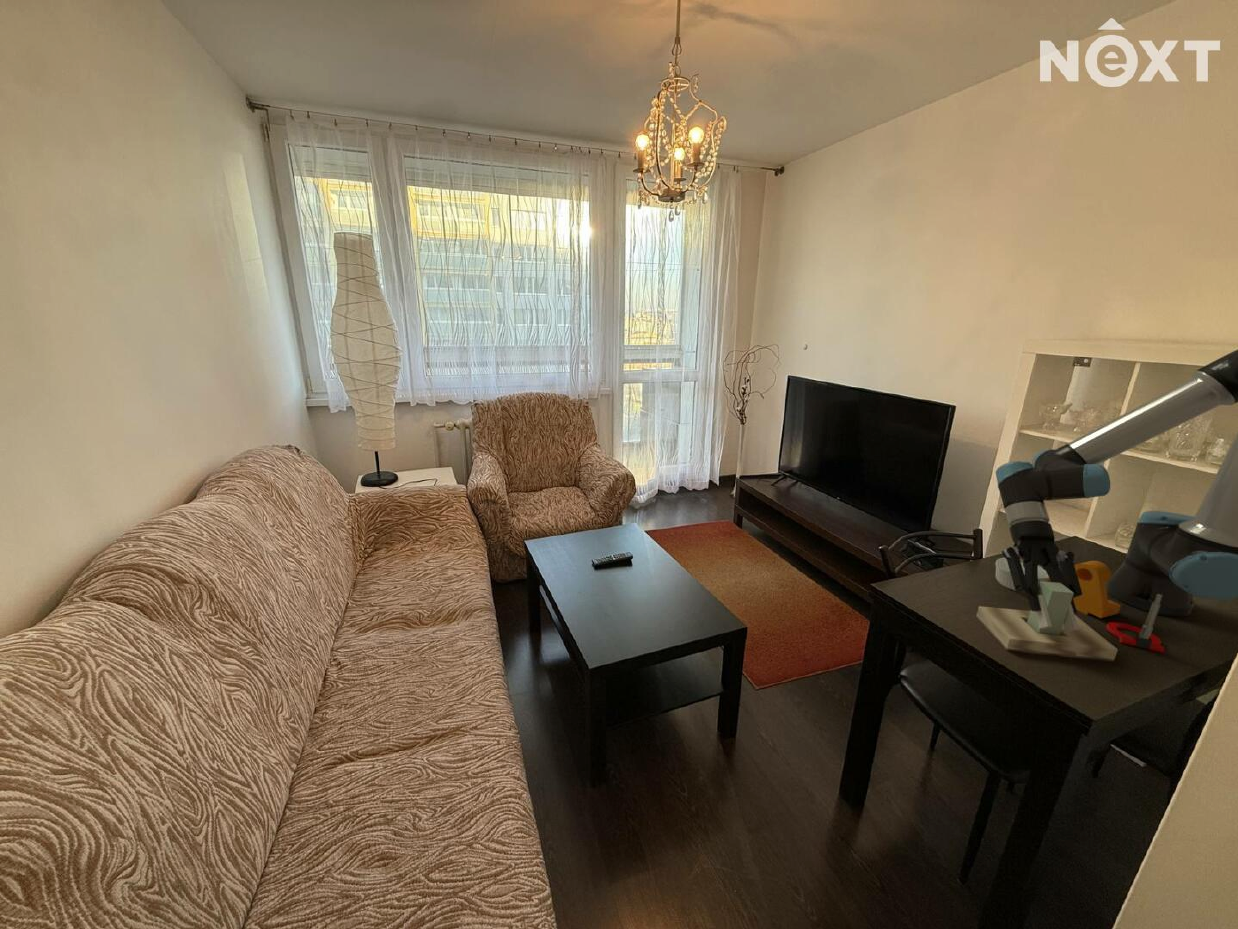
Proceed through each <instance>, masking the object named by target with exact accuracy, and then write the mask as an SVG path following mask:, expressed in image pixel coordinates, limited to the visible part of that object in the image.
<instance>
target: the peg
mask: <svg viewBox="0 0 1238 929" xmlns="http://www.w3.org/2000/svg"><path fill="white" fill-rule="evenodd" d="M1073 594H1074V593H1073V592H1072V591H1071V590H1069V589H1068V588H1067V587H1065V586H1064V585H1063V584H1061V583H1056V582H1051V581H1047V582H1044V581H1040V582H1039V585H1038V594H1037V595H1043V596H1044V600H1045V603H1046V607H1047V611H1048V614H1049V618H1050V621H1051V625H1052V627H1048V628H1044V629H1041V628H1039V625H1038V621H1037V617H1036V614H1035V611H1032V610H1031V609H1030V610H1029V611H1030V615H1029V618H1028V621H1027V624H1028V625H1029V626H1030V627H1031V628H1032V629H1033V630H1034V631H1035V632H1036V633H1037V634H1047V635H1057V636H1060V633H1061V630H1062V627H1063V624H1064V621H1065V618H1066V615H1067V612H1068V609H1069V606H1070V603H1071V600H1072V597H1073Z"/></svg>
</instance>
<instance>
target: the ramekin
mask: <svg viewBox="0 0 1238 929" xmlns="http://www.w3.org/2000/svg"><path fill="white" fill-rule="evenodd" d="M1020 562H1021V565H1022V568H1023V572H1024V575H1025V569H1024V567H1023V559H1021V558H1020ZM995 579H996V581H997V582H998V583H999V584H1000V585H1001V586H1003V587H1005V588H1007V589H1009V590H1011V589H1012V591H1015V587H1014V584H1013V580H1012V577H1011V573H1010V569H1009V566H1008V562H1007V560H1006V558H1005V557H1000V558H997V559H996V561H995ZM1049 580H1050V578H1049V576H1048V574H1047V572H1046V570H1044V569H1043V568H1042V566H1041V565H1038V585H1039V582H1040V581H1044V582H1049ZM1015 592H1016V591H1015Z"/></svg>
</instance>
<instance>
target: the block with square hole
mask: <svg viewBox="0 0 1238 929" xmlns="http://www.w3.org/2000/svg"><path fill="white" fill-rule="evenodd" d="M1030 611H1031V610H1025V609H1024V610H1022V609H1012V608H1003V607H992V606H991V607H990V606H981V605H979V606H978V608H977V612H976V616H975V618H976V619H977V620H978V622H980V624H981V625H983V627H984V628H985V629H986V630H987V631H988V632H989V634H991V636H993V638H994V639H995V640H996V641H997V642H998V643H999V644H1000V645H1001V647H1002V648H1003V649H1004V650H1005V651H1006V652H1018V653H1025V654H1033V655H1035V654H1036V655H1043V656H1044V655H1045V656H1054V657H1055V656H1056V657H1063V658H1064V657H1065V658H1072V659H1073V658H1075V659H1082V660H1092V661H1103V662H1112V663H1113V662H1114V661H1115V659H1116V656H1117V653H1118V652H1119V649H1118V648H1117V647H1115V646H1114V645H1113V644H1112V643H1111V642H1110V641H1108V640H1107V639H1106V638H1104V637H1103V636H1101V635H1100V634H1099V633H1098V632H1097V631H1095V630H1094V629H1093V628H1092V627H1091V626H1090V625H1088V624H1087V623H1086V622H1084V621H1083V620H1082V619H1081V618H1080V617H1078V616H1077V614H1074V615H1075V618H1076V622H1077V625H1078V628H1079V629H1077V630H1073V631H1065V627H1064V624H1063V627H1062V630H1061V633H1060V636H1057V635H1047V634H1037V633H1036V632H1035V631H1034V630H1033V629H1032V628H1031V627H1030V626H1029V625H1028V624H1027V621H1028V618H1029V615H1030Z"/></svg>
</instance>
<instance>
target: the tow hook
mask: <svg viewBox="0 0 1238 929" xmlns="http://www.w3.org/2000/svg"><path fill="white" fill-rule="evenodd" d="M1162 596H1163V595H1162V594H1157V596H1156V599H1155V601H1154V602H1153V603H1152V605H1151V608H1150V611H1148V614H1147V617H1146V619H1145V622H1144V624H1143V625H1142V626H1141V627H1138V626H1135V625H1132V624H1128V623H1124V622H1117V621H1115V622H1114V621H1111V622H1108V623H1107V624H1106V627H1105V628H1106V630H1107V631H1108V632H1109V633H1110V634H1112V635H1114V636H1116V637H1117V638H1118V639H1119V643H1122V644H1126V645H1129V646H1134V647H1135V648H1140V649H1142V650H1143V649H1144V650H1150V651H1154V652H1158V653H1161V654H1163V653H1164V652H1165V647H1164V646H1163V645H1161V644H1162V641H1161V639H1160V638H1159V637H1158V636H1156V635H1155V634H1153V633H1152V632H1153V631H1154V624H1155V621H1156V618H1157V615H1158V614H1157V613H1158V611H1159V608H1160V605H1161V604H1160V601H1161V598H1162ZM1118 629H1122V630H1128V631H1131V632H1135V636H1134V638H1132V637H1131V636H1129V635H1127V634H1125V633H1123V632H1121V631H1120V630H1118Z"/></svg>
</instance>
